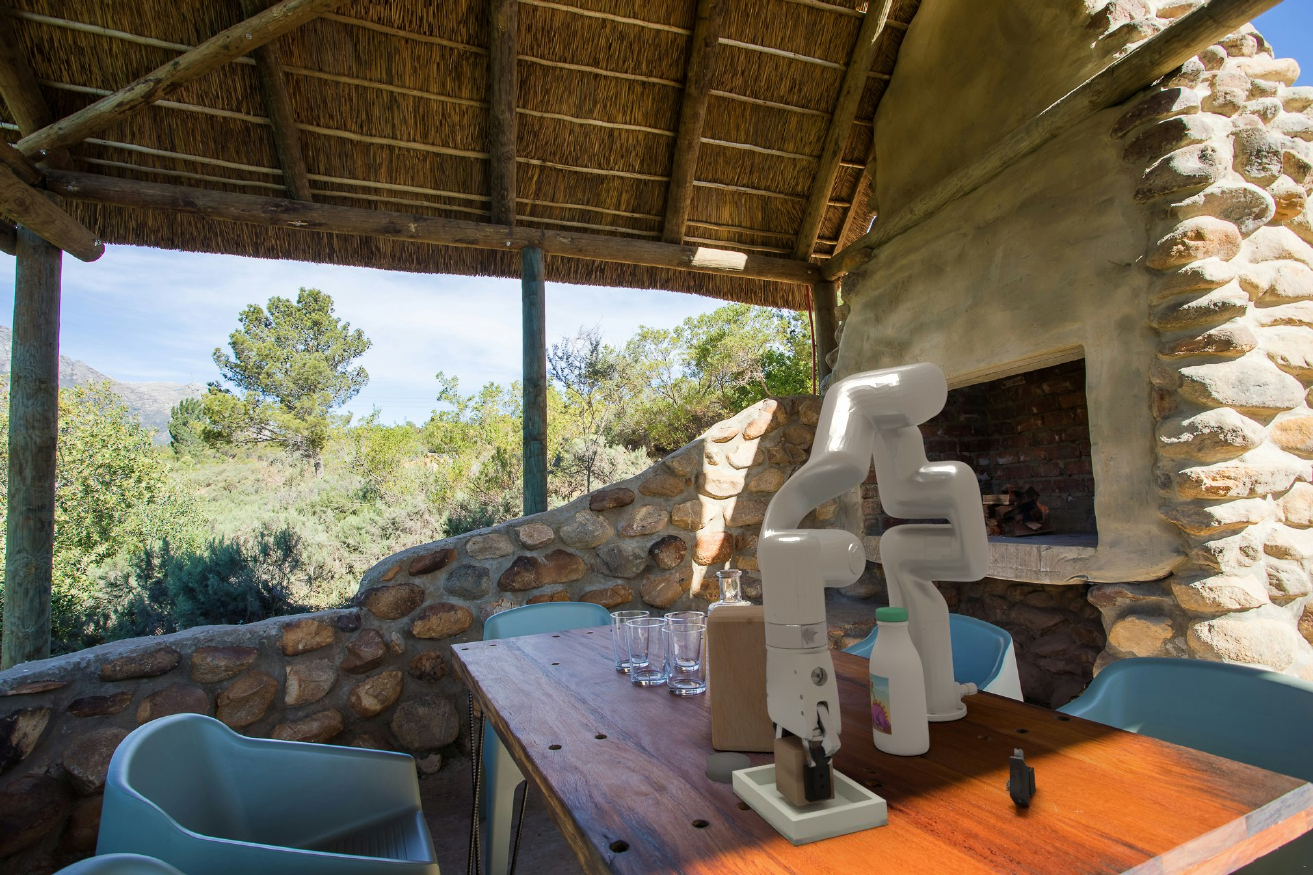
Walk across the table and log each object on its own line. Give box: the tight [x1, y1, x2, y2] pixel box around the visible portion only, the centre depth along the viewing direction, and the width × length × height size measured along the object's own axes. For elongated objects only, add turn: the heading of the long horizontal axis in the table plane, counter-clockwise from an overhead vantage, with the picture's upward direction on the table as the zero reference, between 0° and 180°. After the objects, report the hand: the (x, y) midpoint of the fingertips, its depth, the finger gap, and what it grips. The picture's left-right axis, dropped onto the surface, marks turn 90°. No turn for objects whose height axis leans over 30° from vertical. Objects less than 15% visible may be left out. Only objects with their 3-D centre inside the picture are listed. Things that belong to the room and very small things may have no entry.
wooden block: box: [706, 604, 776, 753], centre depth 104 cm, size 10×10×20 cm
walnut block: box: [773, 735, 835, 806], centre depth 81 cm, size 5×5×6 cm
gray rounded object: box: [705, 751, 752, 784], centre depth 91 cm, size 6×6×2 cm
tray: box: [732, 762, 889, 847], centre depth 81 cm, size 12×15×2 cm
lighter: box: [1005, 748, 1037, 808], centre depth 81 cm, size 9×2×6 cm
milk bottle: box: [868, 606, 930, 757], centre depth 99 cm, size 8×8×20 cm
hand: (804, 787), depth 81 cm, fingers closed on walnut block, 5 cm apart
